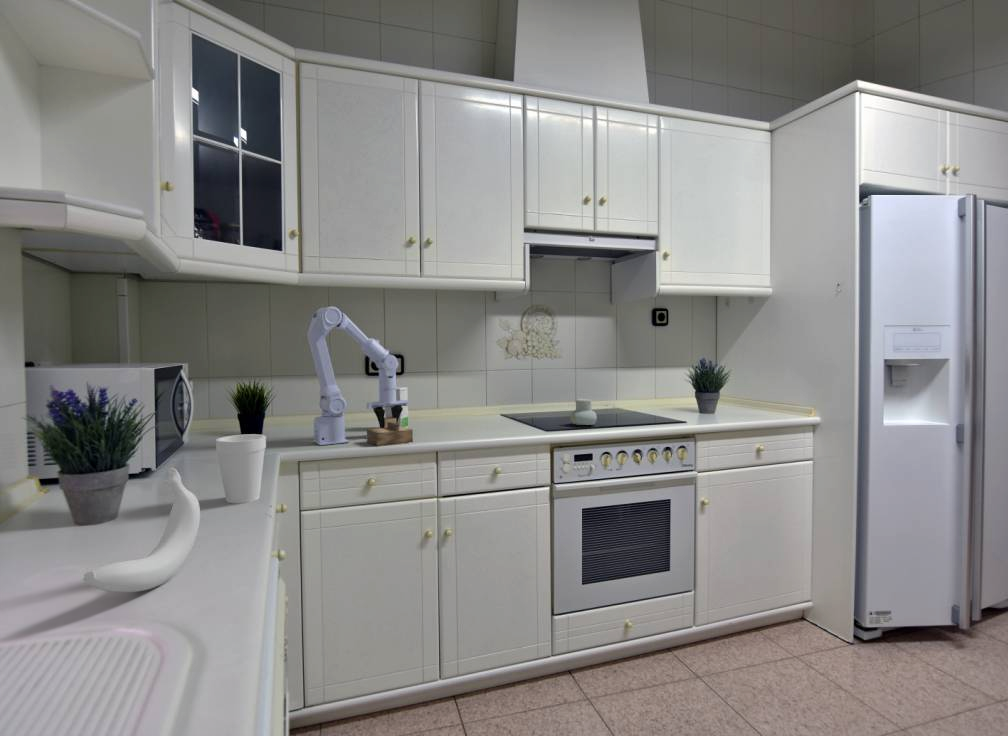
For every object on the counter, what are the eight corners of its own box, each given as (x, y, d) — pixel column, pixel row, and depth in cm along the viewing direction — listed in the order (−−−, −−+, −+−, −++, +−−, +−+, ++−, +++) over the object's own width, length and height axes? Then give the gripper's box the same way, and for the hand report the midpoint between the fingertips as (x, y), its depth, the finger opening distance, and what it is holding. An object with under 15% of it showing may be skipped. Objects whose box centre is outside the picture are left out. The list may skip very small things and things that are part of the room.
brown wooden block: (377, 446, 176) (377, 433, 176) (367, 442, 184) (366, 429, 184) (412, 442, 183) (412, 429, 183) (401, 438, 190) (401, 426, 190)
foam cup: (274, 499, 118) (272, 437, 117) (227, 508, 112) (225, 443, 111) (257, 490, 125) (255, 432, 124) (212, 499, 118) (210, 437, 118)
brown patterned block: (381, 433, 195) (380, 418, 195) (391, 432, 197) (391, 417, 197) (385, 435, 192) (385, 419, 191) (396, 434, 194) (396, 418, 193)
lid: (379, 435, 177) (379, 426, 177) (370, 432, 184) (370, 423, 183) (411, 431, 183) (411, 423, 183) (401, 428, 190) (401, 420, 190)
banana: (82, 617, 68) (76, 497, 67) (179, 557, 87) (175, 463, 86) (121, 618, 68) (116, 498, 67) (210, 557, 86) (206, 463, 86)
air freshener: (569, 423, 221) (569, 398, 221) (589, 423, 223) (589, 397, 222) (577, 427, 210) (577, 401, 210) (598, 427, 212) (598, 400, 211)
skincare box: (400, 430, 206) (400, 388, 206) (384, 430, 208) (383, 388, 207) (409, 427, 215) (408, 386, 214) (393, 427, 216) (392, 386, 215)
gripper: (371, 390, 186) (372, 431, 187) (411, 388, 194) (412, 427, 195) (364, 389, 192) (365, 428, 193) (403, 387, 200) (404, 425, 201)
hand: (388, 428), depth 194 cm, fingers closed on brown patterned block, 4 cm apart
